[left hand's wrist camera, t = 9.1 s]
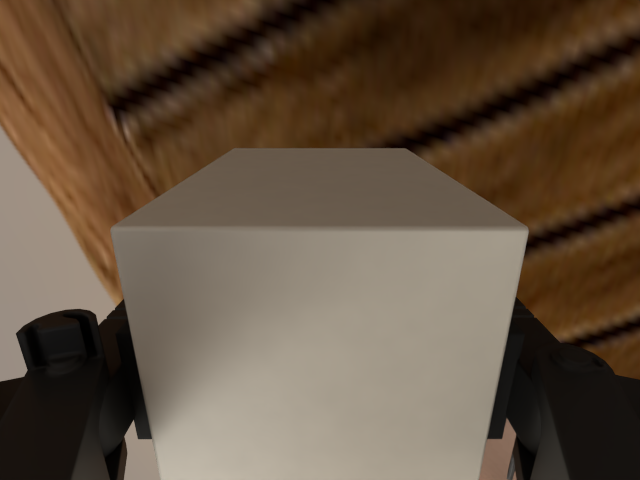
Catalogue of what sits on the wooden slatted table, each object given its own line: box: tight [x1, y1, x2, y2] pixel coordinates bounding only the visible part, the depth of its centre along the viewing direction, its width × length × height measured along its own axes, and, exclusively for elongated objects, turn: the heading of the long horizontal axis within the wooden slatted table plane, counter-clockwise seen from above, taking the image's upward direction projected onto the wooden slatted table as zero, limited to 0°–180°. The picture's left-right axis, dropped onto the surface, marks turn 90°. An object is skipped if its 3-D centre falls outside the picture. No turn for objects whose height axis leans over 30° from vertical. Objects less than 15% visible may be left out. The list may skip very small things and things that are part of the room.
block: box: [111, 148, 529, 480], centre depth 12 cm, size 8×6×9 cm
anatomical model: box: [479, 419, 516, 480], centre depth 29 cm, size 13×4×12 cm
